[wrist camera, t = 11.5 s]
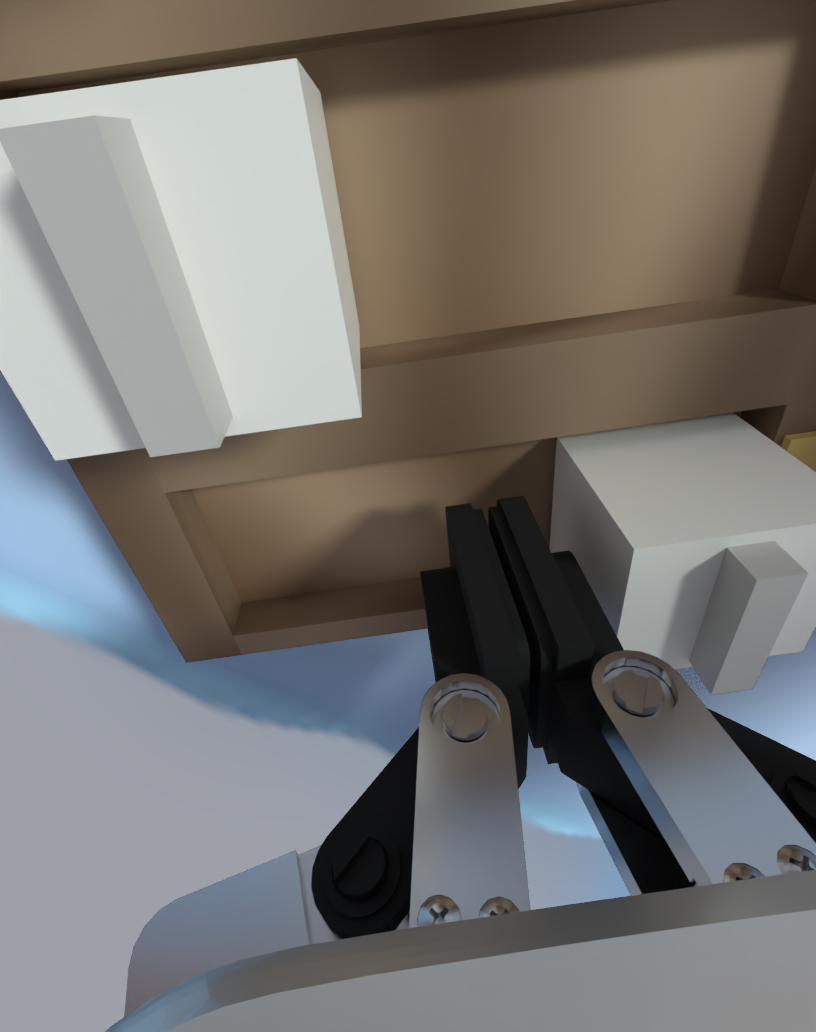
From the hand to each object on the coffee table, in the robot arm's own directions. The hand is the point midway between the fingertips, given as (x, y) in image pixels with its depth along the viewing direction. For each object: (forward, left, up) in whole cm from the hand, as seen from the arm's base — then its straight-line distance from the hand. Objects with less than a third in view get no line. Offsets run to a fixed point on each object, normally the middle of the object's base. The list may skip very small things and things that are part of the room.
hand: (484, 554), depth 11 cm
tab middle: (+4, -6, -2) cm, 8 cm away
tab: (-4, 0, -2) cm, 4 cm away
